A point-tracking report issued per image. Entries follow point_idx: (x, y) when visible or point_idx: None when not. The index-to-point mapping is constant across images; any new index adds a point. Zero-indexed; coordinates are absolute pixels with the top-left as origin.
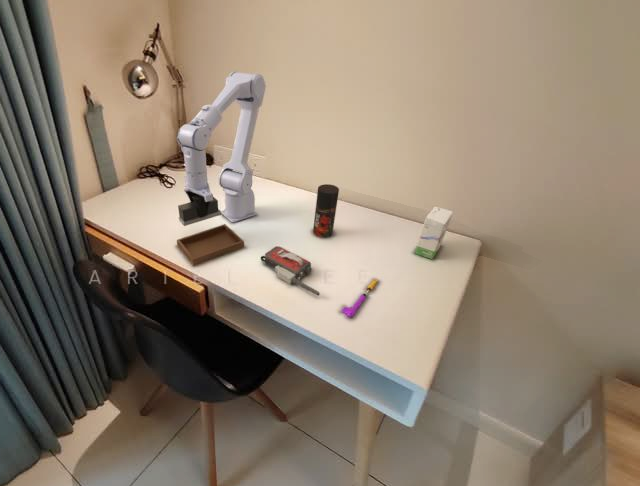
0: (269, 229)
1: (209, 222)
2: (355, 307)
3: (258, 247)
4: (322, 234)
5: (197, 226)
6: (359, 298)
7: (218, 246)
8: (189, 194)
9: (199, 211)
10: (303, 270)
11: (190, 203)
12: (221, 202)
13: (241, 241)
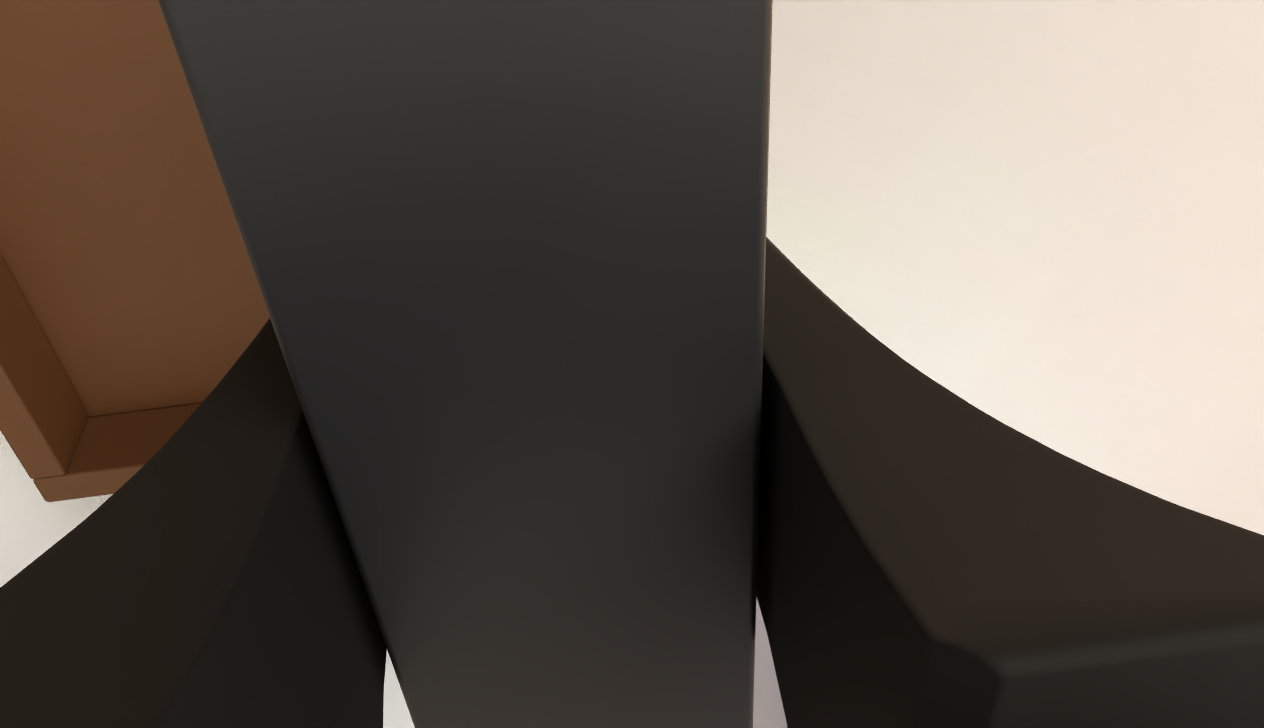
0: (384, 700)
1: (898, 243)
2: None
3: (48, 545)
4: None
5: (915, 49)
6: None
7: (151, 158)
8: (880, 617)
9: (213, 393)
10: None
11: (648, 334)
12: (1215, 495)
13: (50, 476)
